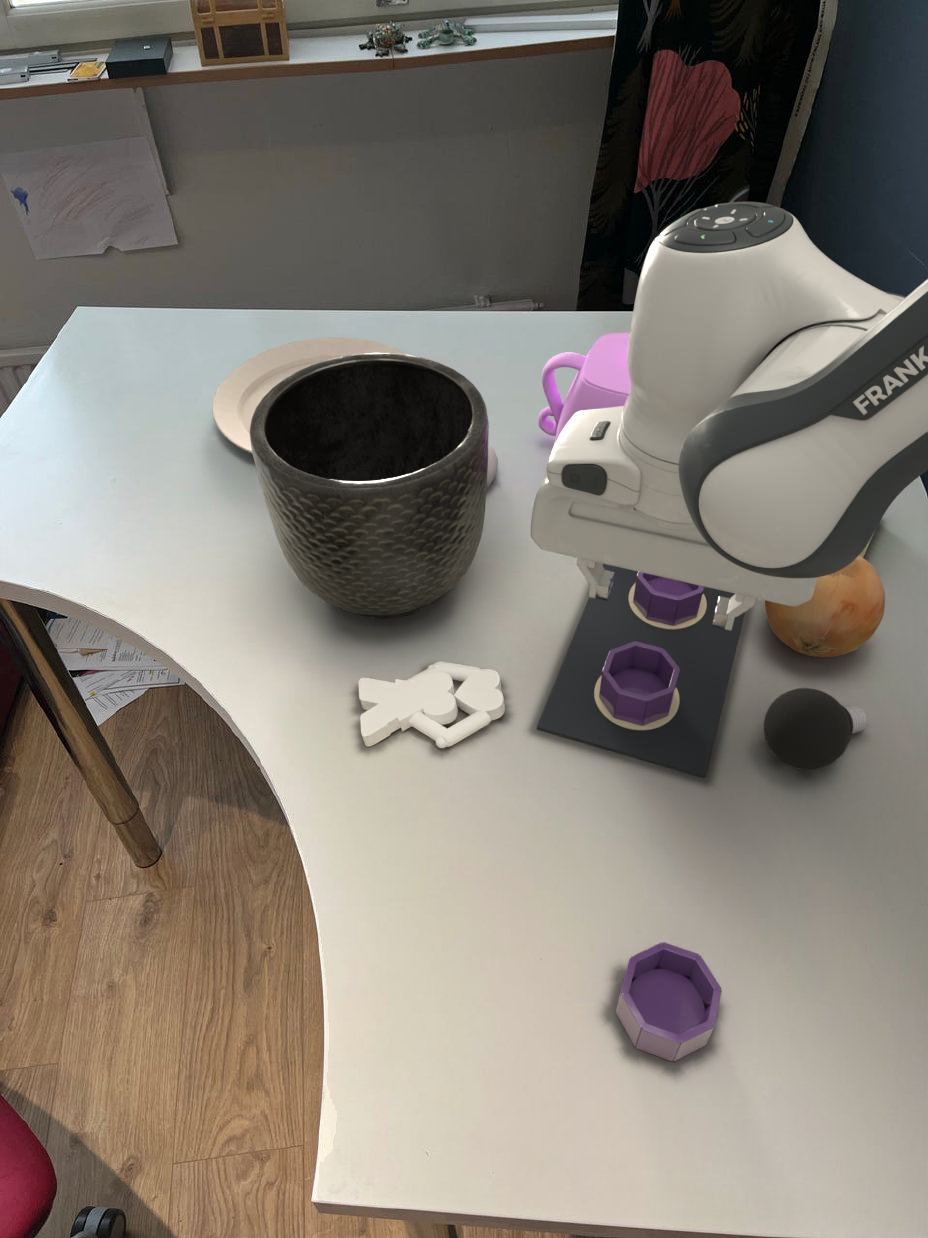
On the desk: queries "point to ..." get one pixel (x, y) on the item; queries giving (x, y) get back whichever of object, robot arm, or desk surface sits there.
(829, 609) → the onion
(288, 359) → the plate
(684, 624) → the mat
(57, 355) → the desk surface
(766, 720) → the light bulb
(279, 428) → the planter
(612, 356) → the teapot
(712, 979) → the dish
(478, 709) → the white abstract figurine
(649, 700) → the dish
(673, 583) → the dish
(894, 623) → the desk surface
